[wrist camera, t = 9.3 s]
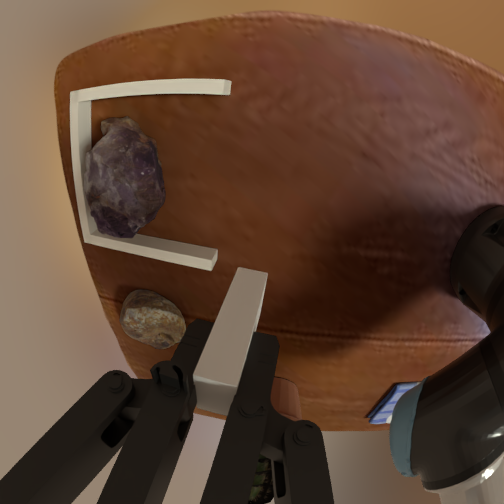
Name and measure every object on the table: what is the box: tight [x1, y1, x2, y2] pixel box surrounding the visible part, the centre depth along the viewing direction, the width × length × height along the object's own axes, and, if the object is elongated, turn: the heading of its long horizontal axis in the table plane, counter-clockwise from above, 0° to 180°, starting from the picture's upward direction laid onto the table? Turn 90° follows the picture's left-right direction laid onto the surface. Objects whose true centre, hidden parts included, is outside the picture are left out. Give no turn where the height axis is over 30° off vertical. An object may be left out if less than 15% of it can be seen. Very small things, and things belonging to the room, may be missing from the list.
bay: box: [70, 79, 231, 271], centre depth 28 cm, size 20×21×2 cm
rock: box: [84, 116, 165, 238], centre depth 26 cm, size 12×9×10 cm
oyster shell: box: [120, 289, 186, 349], centre depth 40 cm, size 11×15×6 cm
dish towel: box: [368, 382, 421, 424], centre depth 45 cm, size 17×24×3 cm
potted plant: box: [248, 377, 302, 504], centre depth 37 cm, size 14×14×25 cm
